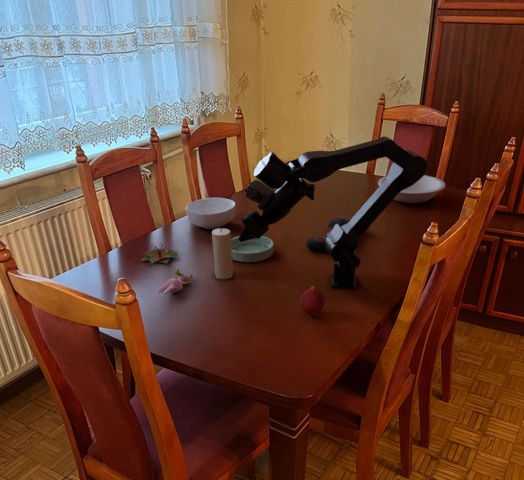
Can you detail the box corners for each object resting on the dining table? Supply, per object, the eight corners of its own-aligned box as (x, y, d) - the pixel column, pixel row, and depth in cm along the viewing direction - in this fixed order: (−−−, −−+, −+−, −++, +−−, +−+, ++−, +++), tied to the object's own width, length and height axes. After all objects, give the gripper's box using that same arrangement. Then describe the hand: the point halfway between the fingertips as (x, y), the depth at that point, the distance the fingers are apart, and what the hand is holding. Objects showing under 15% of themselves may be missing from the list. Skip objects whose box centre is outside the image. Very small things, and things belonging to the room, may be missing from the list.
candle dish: (271, 263, 159) (271, 253, 157) (223, 263, 161) (222, 252, 159) (275, 244, 171) (275, 235, 169) (230, 244, 173) (229, 234, 171)
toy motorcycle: (302, 255, 167) (351, 257, 159) (300, 239, 164) (350, 240, 156) (334, 230, 185) (379, 230, 177) (333, 215, 183) (378, 215, 175)
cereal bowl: (207, 213, 197) (205, 194, 193) (245, 221, 189) (244, 201, 185) (177, 229, 185) (175, 208, 181) (217, 237, 177) (216, 216, 173)
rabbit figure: (178, 282, 154) (151, 298, 141) (177, 261, 151) (149, 276, 138) (198, 285, 152) (172, 301, 139) (198, 264, 149) (171, 279, 136)
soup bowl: (386, 187, 217) (388, 171, 213) (447, 194, 208) (450, 177, 204) (368, 206, 199) (370, 188, 195) (435, 214, 190) (438, 196, 186)
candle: (231, 279, 151) (228, 231, 144) (213, 279, 152) (210, 231, 144) (234, 271, 155) (231, 225, 148) (217, 271, 156) (213, 224, 148)
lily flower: (186, 252, 168) (184, 238, 165) (169, 268, 158) (167, 253, 156) (151, 248, 171) (149, 234, 169) (133, 263, 162) (130, 249, 159)
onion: (309, 306, 137) (310, 278, 133) (328, 313, 134) (330, 284, 130) (296, 316, 133) (296, 287, 129) (315, 323, 130) (316, 293, 126)
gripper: (279, 162, 139) (243, 199, 149) (247, 182, 125) (209, 222, 135) (307, 195, 141) (269, 230, 151) (279, 219, 127) (239, 256, 137)
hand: (247, 234), depth 143 cm, fingers open, 9 cm apart
